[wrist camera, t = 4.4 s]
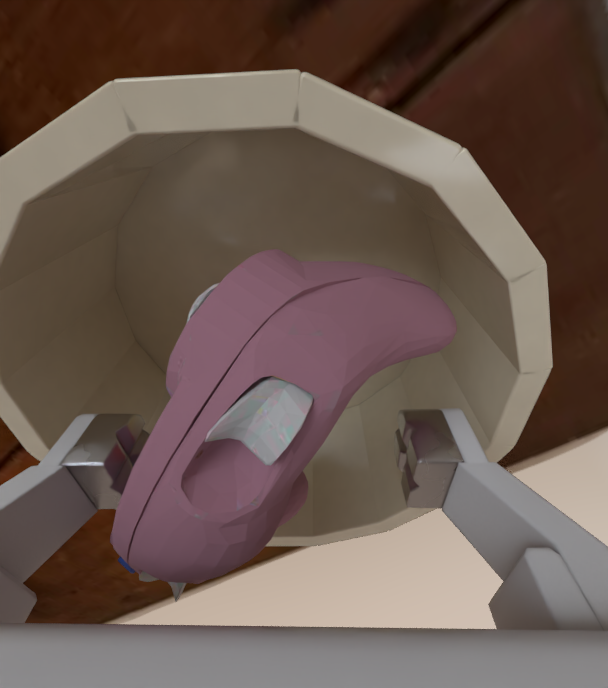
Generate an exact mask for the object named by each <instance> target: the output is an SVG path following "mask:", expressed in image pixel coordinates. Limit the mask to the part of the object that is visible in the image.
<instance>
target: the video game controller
mask: <svg viewBox="0 0 608 688" xmlns="http://www.w3.org/2000/svg"><path fill="white" fill-rule="evenodd" d="M456 332H457V325H456V320H455V317H454V315H453V314H452V312H451V310H450V308H449V307H448V305H447V304H446V303H445V302H444V301H443V300H442V298H441V297H440V296H439V295H438V294H437V293H436V292H435V291H433V290H432V289H431V288H430V287H428V286H426V285H424V284H423V283H421V282H419V281H417V280H415V279H413V278H411V277H409V276H407V275H405V274H402V273H399V272H396V271H393V270H390V269H387V268H383V267H379V266H375V265H370V264H365V263H360V262H348V261H298V260H297V259H295V258H293V257H291V256H290V255H288V254H286V253H285V252H283V251H281V250H279V249H271V250H266V251H262V252H259V253H257V254H255V255H253V256H251V257H249V258H248V259H247V260H245V261H244V262H243V263H241V264H240V265H238V266H237V267H236V268H235V269H233V270H232V271H231V272H229V273H228V274H227V275H226V276H225V278H224V279H223V280H222V281H221V282H220V283H217V284H214V285H212V286H211V287H210V288H208V289H207V290H206V291H204V292H203V293H202V294H201V295H199V297H198V298H197V299H196V300H195V302H194V304H193V305H192V308H191V310H190V312H189V315H188V319H187V324H186V325H185V327H184V329H183V331H182V333H181V335H180V337H179V339H178V341H177V343H176V345H175V347H174V349H173V351H172V353H171V355H170V358H169V363H168V367H167V375H166V388H167V391H168V393H169V395H170V396H171V399H170V400H169V402H168V404H167V406H166V407H165V409H164V411H163V412H162V414H161V416H160V417H159V419H158V421H157V423H156V425H155V427H154V428H153V430H152V432H151V434H150V436H149V438H148V440H147V442H146V444H145V445H144V447H143V449H142V451H141V453H140V455H139V457H138V459H137V461H136V462H135V464H134V466H133V468H132V471H131V473H130V476H129V479H128V481H127V484H126V486H125V489H124V492H123V494H122V497H121V499H120V502H119V505H118V507H117V510H116V515H115V520H114V525H113V530H112V533H111V536H110V543H111V544H112V545H113V547H114V549H115V551H116V552H117V553H118V554H119V555H120V558H119V559H118V561H119V562H120V563H121V564H122V565H123V566H124V567H125V568H126V569H127V570H128V571H129V572H130V573H134V572H135V571H136V572H137V573H138V574H139V580H142V581H146V582H150V581H154V580H158V579H160V580H163V581H167V582H168V583H169V584H170V585H171V587H172V590H173V594H174V597H175V601H177V600H178V599H179V597H180V595H181V593H182V591H183V589H184V587H185V585H186V583H196V584H199V583H201V582H203V581H205V580H208V579H212V578H215V577H219V576H222V575H224V574H226V573H227V572H229V571H231V570H233V569H235V568H237V567H239V566H241V565H242V564H244V563H246V562H248V561H249V560H251V559H252V558H253V557H255V556H256V555H257V554H258V553H259V552H260V551H261V550H262V549H263V548H264V547H265V546H266V544H267V543H268V542H269V541H270V540H271V538H272V537H273V535H274V533H275V531H276V530H277V528H278V527H279V526H281V525H283V524H285V523H286V522H288V521H289V520H290V519H291V518H292V517H293V516H295V515H296V514H297V513H298V511H299V510H300V509H301V507H302V506H303V505H304V503H305V502H306V499H307V495H308V481H307V478H306V476H305V474H304V472H303V470H304V468H305V467H306V466H307V464H308V463H309V462H310V460H311V459H312V458H313V456H314V455H315V454H316V452H317V451H318V450H319V448H320V447H321V446H322V445H323V443H324V442H325V440H326V438H327V437H328V435H329V434H330V432H331V430H332V429H333V427H334V425H335V424H336V422H337V421H338V419H339V417H340V416H341V414H342V413H343V411H344V409H345V408H346V406H347V405H348V403H349V401H350V400H351V398H352V396H353V395H354V394H355V393H356V392H357V391H358V389H359V388H360V387H361V386H362V385H363V384H364V383H365V382H366V381H367V380H368V378H369V377H371V376H372V375H374V374H376V373H378V372H380V371H381V370H383V369H385V368H387V367H388V366H391V365H394V364H396V363H399V362H402V361H405V360H408V359H412V358H416V357H421V356H425V355H428V354H432V353H436V352H439V351H440V350H442V349H443V348H444V347H446V346H447V345H448V344H450V343H451V342H452V340H453V338H454V336H455V334H456Z"/></svg>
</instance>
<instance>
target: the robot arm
mask: <svg viewBox="0 0 608 688" xmlns="http://www.w3.org/2000/svg"><path fill="white" fill-rule="evenodd" d="M397 422H398V426H399V429H397V430H396V431H395V436H394V453H395V459H396V464H397V467H398V468H399V469H400V470H401V471H402V472H403V475H402V480H401V485H402V489H403V493H404V497H405V501H406V505H407V507H408V508H442V511H443V512H444V513H445V514H446V516H447V517H448V518H449V519H450V520H451V521H452V522H453V524H454V525H455V526H456V527H457V528H458V529H459V530H460V532H461V533H462V534H463V535H464V536H465V537H466V539H467V540H468V541H469V542H470V543H471V544H472V545H473V547H474V548H476V550H477V551H478V552H479V554H480V555H481V556H482V557H483V558H484V559H485V560H486V561H487V563H488V564H489V565H490V566H491V567H492V569H493V570H494V571H495V572H496V573H497V574H498V575H499V577H500V578H501V579H502V580H503V581H504V582H503V583H502V585H501V586H500V588H499V589H498V591H497V592H496V593H495V595H494V596H493V598H492V599H491V601H490V603H489V607H490V610H491V613H492V616H493V619H494V622H495V625H496V628H497V629H432V628H429V629H428V628H354V627H350V628H349V627H279V626H278V627H276V626H275V627H274V626H200V625H198V626H197V625H196V626H195V625H125V624H123V625H122V624H47V623H25V621H26V619H27V617H28V615H29V614H30V612H31V610H32V608H33V606H34V605H35V603H36V601H37V598H36V594H35V593H34V592H33V591H31V590H30V589H29V588H27V587H26V586H25V585H24V584H22V583H23V582H25V581H26V580H27V579H28V578H29V577H30V576H31V575H32V574H33V573H34V572H35V571H36V570H37V569H38V568H39V567H40V566H41V565H42V564H43V563H44V562H45V561H46V560H47V559H48V558H49V557H50V556H51V555H53V554H54V553H55V552H56V551H57V550H58V549H59V548H60V547H61V546H62V545H63V544H64V543H65V542H66V541H67V540H68V539H69V538H70V537H71V536H72V535H73V534H74V533H75V532H76V531H77V530H78V529H79V528H81V527H82V526H83V525H84V524H85V523H86V522H87V521H88V520H89V519H90V518H91V517H92V516H93V515H94V514H95V513H96V512H97V511H98V510H97V509H117V507H118V505H119V502H120V499H121V497H122V494H123V492H124V489H125V486H126V484H127V481H128V479H129V476H130V473H131V471H132V468H133V466H134V464H135V462H136V461H137V459H138V457H139V455H140V453H141V451H142V449H143V447H144V445H145V444H146V442H147V440H148V438H149V436H150V434H149V433H148V432H146V431H145V430H143V427H144V425H145V421H144V419H143V418H142V416H141V415H139V414H102V413H101V414H81V415H79V416H78V417H76V418H75V419H74V421H73V422H72V423H71V424H70V426H69V427H68V428H67V430H66V431H65V432H64V433H63V435H62V436H61V437H60V438H59V440H58V441H57V442H56V443H55V445H54V446H53V447H52V449H51V450H50V451H49V452H48V454H47V455H46V456H45V457H44V459H43V460H42V461H41V462H40V464H39V465H38V466H31V467H29V468H28V469H26V470H25V471H23V472H21V473H20V474H18V475H17V476H15V477H14V478H12V479H10V480H9V481H7V482H6V483H4V484H2V485H1V486H0V688H608V547H607V546H606V545H605V544H604V543H602V542H601V541H599V540H598V539H597V538H596V537H594V536H593V535H591V534H590V533H589V532H588V531H586V530H585V529H584V528H582V527H581V526H580V525H578V524H577V523H576V522H574V521H573V520H572V519H570V518H569V517H568V516H566V515H565V514H564V513H562V512H561V511H560V510H558V509H557V508H556V507H555V506H553V505H552V504H551V503H549V502H548V501H547V500H545V499H544V498H542V497H541V496H540V495H539V494H537V493H536V492H534V491H533V490H532V489H531V488H529V487H528V486H527V485H525V484H524V483H523V482H521V481H520V480H519V479H517V478H516V477H515V476H513V475H512V474H511V473H509V472H508V471H507V470H505V469H504V468H503V467H501V466H500V465H499V464H497V463H496V462H489V461H488V459H487V457H486V455H485V453H484V451H483V449H482V447H481V445H480V443H479V441H478V439H477V437H476V436H475V434H474V432H473V430H472V428H471V426H470V424H469V422H468V420H467V418H466V416H465V414H464V412H463V411H462V410H461V409H460V408H449V409H405V410H400V411H399V412H398V417H397Z"/></svg>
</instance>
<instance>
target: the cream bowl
mask: <svg viewBox="0 0 608 688" xmlns="http://www.w3.org/2000/svg"><path fill="white" fill-rule="evenodd" d="M271 249H279V250H281V251H283V252H285V253H286V254H288V255H290V256H291V257H293V258H295V259H297V260H298V261H348V262H360V263H365V264H370V265H375V266H379V267H383V268H387V269H390V270H393V271H396V272H399V273H402V274H405V275H407V276H409V277H411V278H413V279H415V280H417V281H419V282H421V283H423V284H424V285H426V286H428V287H430V288H431V289H432V290H433V291H435V292H436V293H437V294H438V295H439V296H440V297H441V298H442V300H443V301H444V302H445V303H446V304H447V305H448V307H449V308H450V310H451V312H452V314H453V315H454V317H455V320H456V325H457V332H456V334H455V336H454V338H453V340H452V342H451V343H450V344H448V345H447V346H446V347H444V348H443V349H442V350H440V351H439V352H436V353H432V354H428V355H425V356H421V357H416V358H412V359H408V360H405V361H402V362H399V363H396V364H394V365H391V366H388V367H387V368H385V369H383V370H381V371H380V372H378V373H376V374H374V375H372V376H371V377H369V378H368V380H367V381H366V382H365V383H364V384H363V385H362V386H361V387H360V388H359V389H358V391H357V392H356V393H355V394H354V395H353V396H352V398H351V400H350V401H349V403H348V405H347V406H346V408H345V409H344V411H343V413H342V414H341V416H340V417H339V419H338V421H337V422H336V424H335V425H334V427H333V429H332V430H331V432H330V434H329V435H328V437H327V438H326V440H325V442H324V443H323V445H322V446H321V447H320V448H319V450H318V451H317V452H316V454H315V455H314V456H313V458H312V459H311V460H310V462H309V463H308V464H307V466H306V467H305V468H304V470H303V472H304V474H305V476H306V478H307V481H308V495H307V499H306V502H305V503H304V505H303V506H302V507H301V509H300V510H299V511H298V513H297V514H296V515H295V516H293V517H292V518H291V519H290V520H289V521H288V522H286V523H285V524H283V525H281V526H279V527H278V528H277V530H276V531H275V533H274V535H273V537H272V538H271V540H270V541H269V542H268V543H267V544H266V546H317V545H318V546H319V545H323V544H329V543H333V542H338V541H343V540H348V539H352V538H358V537H363V536H368V535H372V534H377V533H382V532H387V531H388V530H392V529H394V528H396V527H398V526H400V525H403V524H405V523H407V522H409V521H411V520H413V519H416V518H418V517H420V516H422V515H424V514H426V513H428V512H431V511H433V510H435V509H437V508H408V507H407V505H406V501H405V497H404V493H403V489H402V485H401V480H402V475H403V472H402V471H401V470H400V469H399V468H398V467H397V464H396V459H395V453H394V436H395V431H396V430H397V429H399V426H398V422H397V417H398V412H399V411H400V410H405V409H449V408H460V409H461V410H462V411H463V412H464V414H465V416H466V418H467V420H468V422H469V424H470V426H471V428H472V430H473V432H474V434H475V436H476V437H477V439H478V441H479V443H480V445H481V447H482V449H483V451H484V453H485V455H486V457H487V459H488V461H489V462H496V463H497V462H498V461H499V460H501V459H502V458H503V457H504V456H505V455H506V454H507V453H508V452H509V451H511V450H512V449H513V446H515V445H516V443H517V441H518V439H519V437H520V435H521V432H522V430H523V428H524V426H525V424H526V422H527V420H528V418H529V416H530V414H531V411H532V409H533V407H534V405H535V403H536V401H537V399H538V397H539V395H540V393H541V391H542V388H543V386H544V384H545V382H546V380H547V378H548V376H549V374H550V372H551V368H553V362H552V345H551V329H550V312H549V296H548V280H547V265H546V261H545V259H544V258H543V256H542V255H541V254H540V252H539V251H538V249H537V248H536V247H535V245H534V244H533V242H532V241H531V239H530V238H529V237H528V235H527V234H526V232H525V231H524V229H523V228H522V227H521V225H520V224H519V222H518V221H517V220H516V218H515V217H514V215H513V214H512V212H511V211H510V210H509V208H508V207H507V205H506V204H505V203H504V201H503V200H502V198H501V197H500V195H499V194H498V193H497V191H496V190H495V188H494V187H493V186H492V184H491V183H490V181H489V180H488V178H487V177H486V176H485V174H484V173H483V171H482V170H481V169H480V167H479V166H478V164H477V163H476V161H475V160H474V159H473V157H472V156H471V154H470V153H469V151H468V150H467V149H466V148H463V147H461V146H460V144H458V143H456V142H454V141H452V140H450V139H447V138H445V137H443V136H441V135H439V134H437V133H435V132H433V131H431V130H428V129H426V128H424V127H422V126H420V125H418V124H416V123H414V122H412V121H409V120H407V119H405V118H403V117H401V116H399V115H397V114H395V113H393V112H390V111H388V110H386V109H384V108H382V107H380V106H378V105H376V104H373V103H371V102H369V101H367V100H365V99H363V98H361V97H359V96H357V95H354V94H352V93H350V92H348V91H346V90H344V89H342V88H340V87H338V86H335V85H333V84H331V83H329V82H327V81H325V80H323V79H321V78H319V77H316V76H314V75H312V74H310V73H308V72H302V73H301V72H300V70H298V69H290V70H271V71H252V72H233V73H214V74H195V75H176V76H157V77H138V78H119V79H115V80H114V81H109V82H107V83H106V84H105V85H103V86H102V87H100V88H99V89H97V90H96V91H94V92H93V93H92V94H90V95H89V96H87V97H86V98H84V99H83V100H82V101H80V102H79V103H77V104H76V105H74V106H73V107H72V108H70V109H69V110H67V111H66V112H64V113H63V114H61V115H60V116H59V117H57V118H56V119H54V120H53V121H51V122H50V123H49V124H47V125H46V126H44V127H43V128H41V129H40V130H39V131H37V132H36V133H34V134H33V135H31V136H30V137H28V138H27V139H26V140H24V141H23V142H21V143H20V144H18V145H17V146H16V147H14V148H13V149H11V150H10V151H8V152H7V153H6V154H4V155H3V156H1V157H0V417H1V418H2V420H3V421H4V422H5V424H6V425H7V426H8V427H9V429H10V430H11V431H12V433H13V434H14V435H15V437H16V438H17V439H18V440H19V442H20V443H21V444H22V446H23V447H24V448H25V449H26V451H27V452H30V454H31V455H32V456H33V457H35V458H36V459H38V460H39V461H40V462H41V461H42V460H43V459H44V457H45V456H46V455H47V454H48V452H49V451H50V450H51V449H52V447H53V446H54V445H55V443H56V442H57V441H58V440H59V438H60V437H61V436H62V435H63V433H64V432H65V431H66V430H67V428H68V427H69V426H70V424H71V423H72V422H73V421H74V419H75V418H76V417H78V416H79V415H81V414H101V413H102V414H139V415H141V416H142V418H143V419H144V421H145V425H144V427H143V430H145V431H146V432H148V433H149V434H151V432H152V430H153V428H154V427H155V425H156V423H157V421H158V419H159V417H160V416H161V414H162V412H163V411H164V409H165V407H166V406H167V404H168V402H169V400H170V399H171V396H170V395H169V393H168V391H167V388H166V375H167V367H168V363H169V358H170V355H171V353H172V351H173V349H174V347H175V345H176V343H177V341H178V339H179V337H180V335H181V333H182V331H183V329H184V327H185V325H186V324H187V319H188V315H189V312H190V310H191V308H192V305H193V304H194V302H195V300H196V299H197V298H198V297H199V295H201V294H202V293H203V292H204V291H206V290H207V289H208V288H210V287H211V286H212V285H214V284H217V283H220V282H221V281H222V280H223V279H224V278H225V276H226V275H227V274H228V273H229V272H231V271H232V270H233V269H235V268H236V267H237V266H238V265H240V264H241V263H243V262H244V261H245V260H247V259H248V258H249V257H251V256H253V255H255V254H257V253H259V252H262V251H266V250H271ZM116 510H117V509H116Z"/></svg>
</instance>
